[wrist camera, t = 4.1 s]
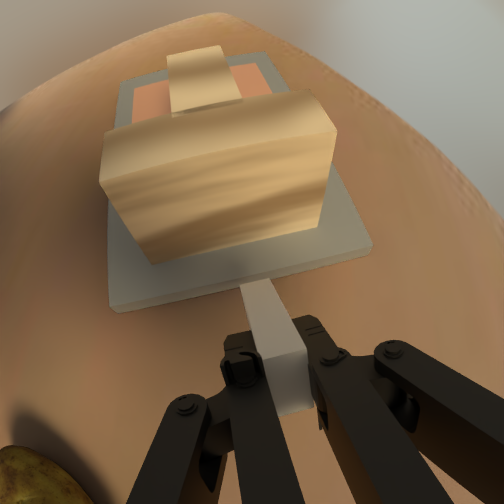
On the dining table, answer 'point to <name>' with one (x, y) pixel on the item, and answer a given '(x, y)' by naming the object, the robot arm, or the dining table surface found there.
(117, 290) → the board
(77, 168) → the dining table surface
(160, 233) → the t block
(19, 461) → the potato
